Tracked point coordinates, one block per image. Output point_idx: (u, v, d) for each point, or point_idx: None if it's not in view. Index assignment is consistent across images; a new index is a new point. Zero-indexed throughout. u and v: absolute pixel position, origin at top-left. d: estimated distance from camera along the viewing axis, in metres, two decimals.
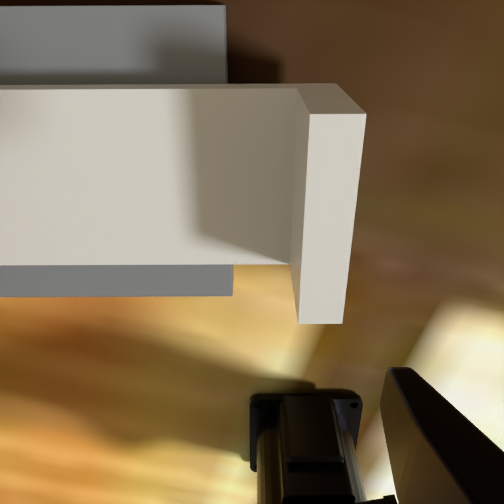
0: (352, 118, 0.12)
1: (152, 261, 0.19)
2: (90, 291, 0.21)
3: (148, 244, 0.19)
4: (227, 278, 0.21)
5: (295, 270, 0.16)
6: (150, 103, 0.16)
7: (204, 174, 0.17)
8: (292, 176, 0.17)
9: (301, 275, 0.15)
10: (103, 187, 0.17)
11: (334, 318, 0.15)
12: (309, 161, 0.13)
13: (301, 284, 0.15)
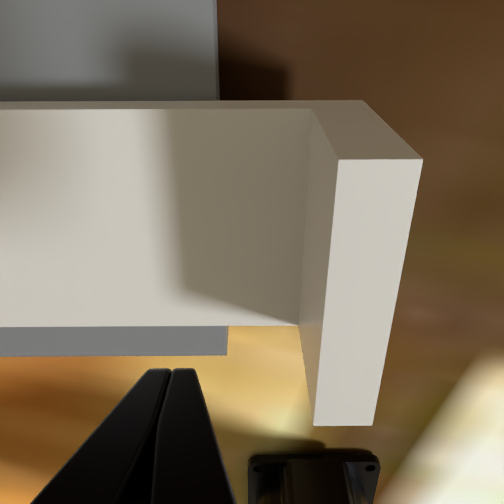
0: (401, 165, 0.08)
1: (125, 322, 0.15)
2: (52, 350, 0.17)
3: (119, 302, 0.15)
4: (220, 335, 0.17)
5: (308, 348, 0.12)
6: (114, 127, 0.12)
7: (189, 218, 0.13)
8: (304, 221, 0.13)
9: (319, 369, 0.11)
10: (57, 234, 0.13)
11: (362, 419, 0.11)
12: (335, 224, 0.09)
13: (319, 380, 0.11)
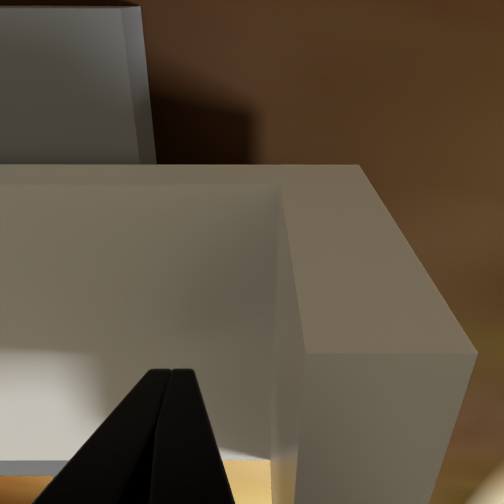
0: (433, 359, 0.04)
1: (30, 457, 0.11)
2: None
3: (18, 433, 0.10)
4: None
5: None
6: None
7: (106, 332, 0.09)
8: (273, 336, 0.09)
9: None
10: None
11: None
12: (303, 449, 0.05)
13: None
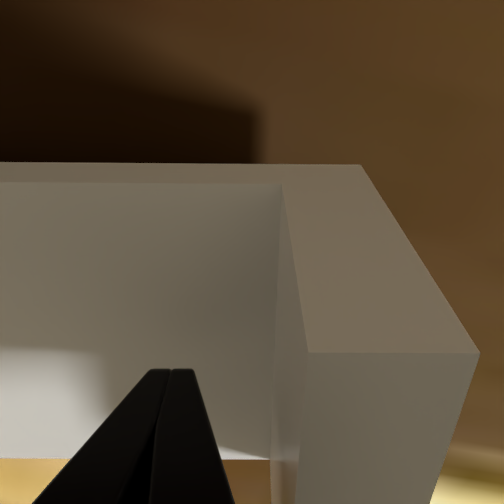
0: (435, 359, 0.04)
1: (29, 454, 0.11)
2: None
3: (17, 431, 0.10)
4: None
5: None
6: None
7: (106, 330, 0.09)
8: (273, 335, 0.09)
9: None
10: None
11: None
12: (306, 448, 0.05)
13: None
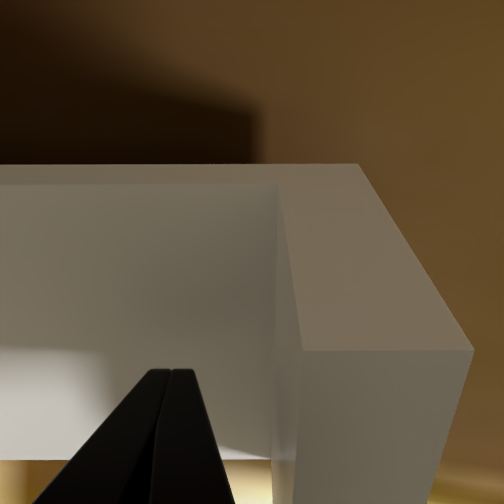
0: (430, 357, 0.04)
1: (31, 456, 0.11)
2: None
3: (19, 433, 0.10)
4: None
5: None
6: None
7: (106, 332, 0.09)
8: (273, 335, 0.09)
9: None
10: None
11: None
12: (302, 447, 0.05)
13: None
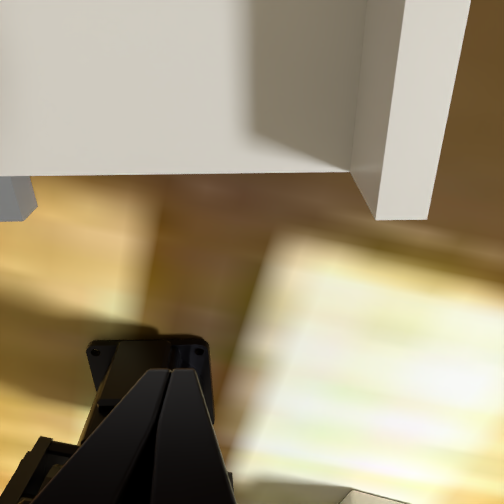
0: None
1: (194, 170, 0.17)
2: None
3: (190, 148, 0.16)
4: (11, 199, 0.19)
5: (367, 164, 0.14)
6: None
7: (259, 58, 0.15)
8: (360, 59, 0.15)
9: (384, 156, 0.12)
10: (141, 75, 0.15)
11: (418, 212, 0.13)
12: None
13: (384, 167, 0.12)
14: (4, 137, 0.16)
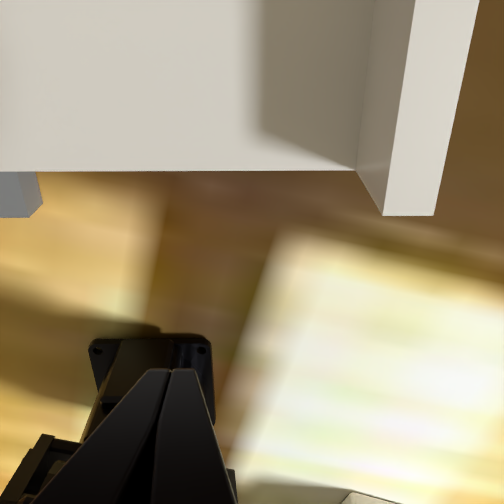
0: None
1: (202, 167, 0.17)
2: None
3: (198, 145, 0.16)
4: (18, 195, 0.19)
5: (374, 161, 0.14)
6: None
7: (267, 56, 0.15)
8: (367, 58, 0.15)
9: (392, 152, 0.13)
10: (151, 72, 0.15)
11: (425, 208, 0.13)
12: None
13: (392, 163, 0.13)
14: (12, 133, 0.16)
